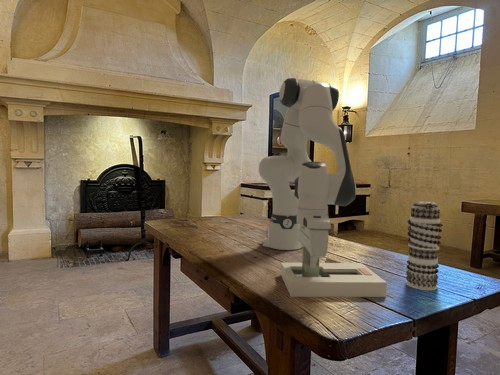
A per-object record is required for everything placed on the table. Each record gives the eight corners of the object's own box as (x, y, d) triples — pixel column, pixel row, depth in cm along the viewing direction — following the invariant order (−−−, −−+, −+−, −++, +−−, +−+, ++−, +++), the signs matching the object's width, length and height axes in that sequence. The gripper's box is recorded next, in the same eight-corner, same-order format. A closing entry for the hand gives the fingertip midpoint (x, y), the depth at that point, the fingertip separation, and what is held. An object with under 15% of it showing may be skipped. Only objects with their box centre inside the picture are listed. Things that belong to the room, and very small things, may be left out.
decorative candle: (424, 292, 94) (428, 204, 93) (397, 282, 103) (401, 200, 101) (446, 288, 98) (451, 203, 97) (418, 278, 107) (423, 200, 105)
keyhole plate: (280, 274, 107) (281, 261, 107) (360, 275, 109) (361, 262, 108) (290, 296, 89) (291, 281, 89) (386, 296, 91) (386, 281, 91)
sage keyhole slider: (294, 278, 103) (295, 244, 102) (319, 278, 103) (321, 244, 102) (299, 288, 95) (300, 251, 94) (327, 288, 95) (328, 251, 94)
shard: (326, 261, 125) (326, 257, 125) (347, 264, 123) (347, 259, 123) (323, 270, 115) (323, 264, 115) (346, 272, 113) (346, 267, 113)
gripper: (294, 212, 108) (293, 254, 109) (309, 223, 87) (307, 275, 88) (314, 212, 108) (312, 255, 109) (333, 224, 88) (331, 275, 89)
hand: (310, 264), depth 98 cm, fingers closed on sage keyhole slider, 4 cm apart
